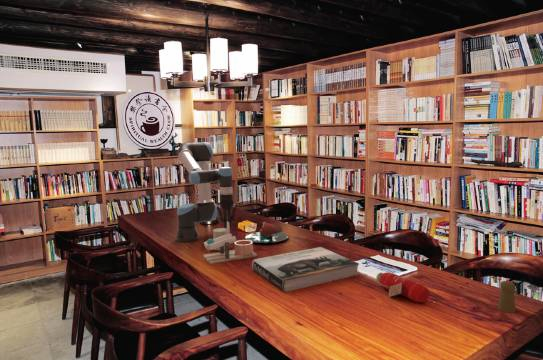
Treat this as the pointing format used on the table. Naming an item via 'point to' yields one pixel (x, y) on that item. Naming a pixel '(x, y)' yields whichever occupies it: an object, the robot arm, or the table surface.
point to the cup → (243, 247)
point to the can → (219, 234)
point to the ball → (210, 241)
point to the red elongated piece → (403, 287)
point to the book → (304, 268)
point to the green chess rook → (507, 297)
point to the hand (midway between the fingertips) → (227, 233)
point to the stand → (225, 255)
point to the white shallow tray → (220, 242)
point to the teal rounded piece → (267, 234)
